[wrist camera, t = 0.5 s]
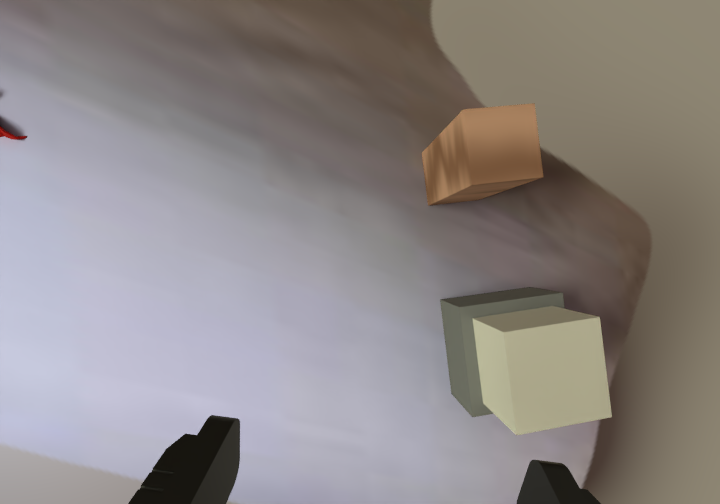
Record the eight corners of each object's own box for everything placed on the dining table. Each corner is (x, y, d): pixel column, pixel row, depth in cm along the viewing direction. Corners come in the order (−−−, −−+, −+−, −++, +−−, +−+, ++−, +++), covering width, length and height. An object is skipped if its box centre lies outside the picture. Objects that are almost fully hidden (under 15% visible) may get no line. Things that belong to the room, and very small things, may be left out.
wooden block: (421, 152, 33) (463, 109, 23) (472, 147, 33) (534, 103, 24) (428, 205, 33) (472, 184, 23) (478, 199, 33) (543, 177, 24)
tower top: (472, 318, 28) (503, 332, 23) (552, 305, 29) (599, 317, 24) (483, 403, 28) (516, 435, 24) (563, 388, 29) (611, 417, 24)
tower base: (439, 299, 33) (459, 307, 28) (528, 286, 34) (562, 292, 29) (450, 392, 33) (472, 417, 28) (539, 378, 34) (575, 399, 29)
